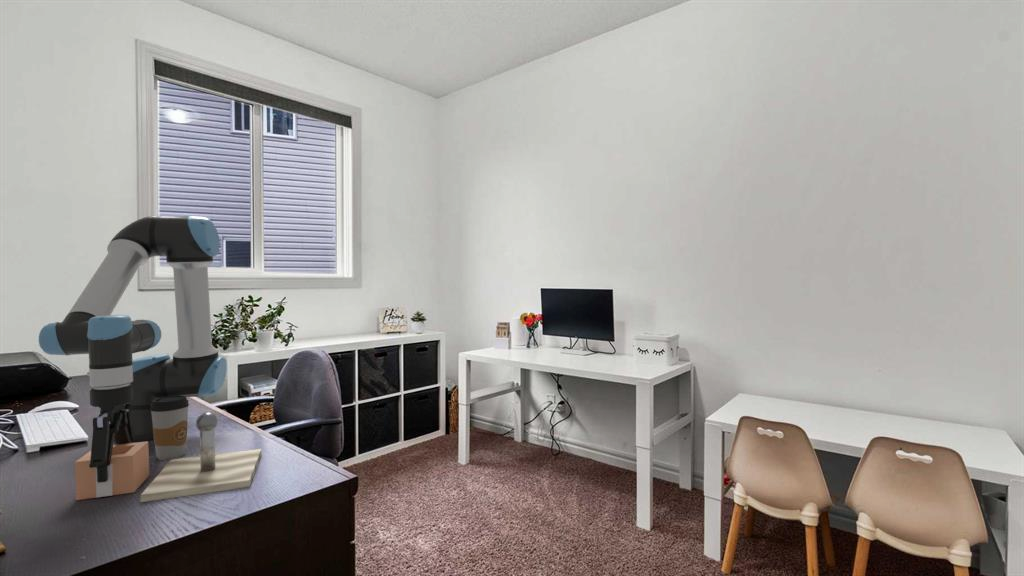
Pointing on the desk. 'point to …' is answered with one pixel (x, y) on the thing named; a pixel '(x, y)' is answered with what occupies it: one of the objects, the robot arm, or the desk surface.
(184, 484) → the wooden peg stand
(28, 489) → the desk surface
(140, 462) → the open top tan bin
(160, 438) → the coffee cup
